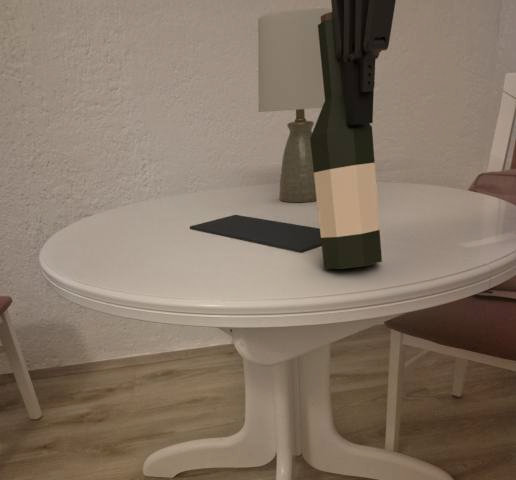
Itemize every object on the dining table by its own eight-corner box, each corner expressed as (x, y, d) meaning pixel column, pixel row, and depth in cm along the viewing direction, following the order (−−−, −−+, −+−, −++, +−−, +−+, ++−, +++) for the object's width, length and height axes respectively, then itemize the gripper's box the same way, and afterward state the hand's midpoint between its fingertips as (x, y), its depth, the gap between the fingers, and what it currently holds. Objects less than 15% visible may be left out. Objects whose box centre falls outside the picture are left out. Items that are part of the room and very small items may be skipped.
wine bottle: (334, 271, 62) (306, 4, 53) (315, 265, 70) (288, 31, 61) (394, 260, 63) (377, -3, 55) (369, 255, 71) (350, 25, 62)
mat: (348, 235, 82) (348, 233, 82) (301, 252, 75) (301, 249, 75) (235, 216, 103) (235, 214, 102) (189, 228, 96) (189, 226, 95)
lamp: (284, 209, 106) (275, 7, 89) (252, 198, 121) (239, 23, 104) (356, 198, 111) (361, 6, 95) (317, 188, 127) (315, 22, 110)
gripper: (303, -115, 52) (308, 125, 62) (366, -178, 41) (359, 127, 51) (364, -112, 54) (359, 120, 64) (441, -171, 43) (419, 121, 53)
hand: (359, 123), depth 58 cm, fingers closed
